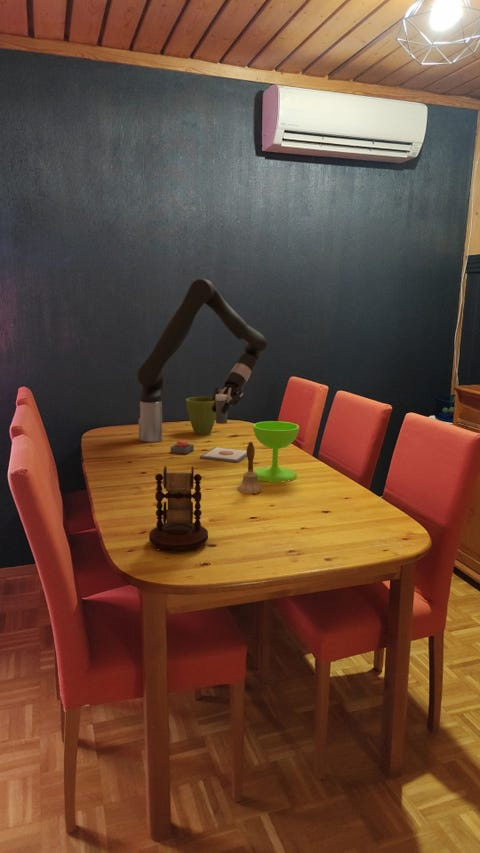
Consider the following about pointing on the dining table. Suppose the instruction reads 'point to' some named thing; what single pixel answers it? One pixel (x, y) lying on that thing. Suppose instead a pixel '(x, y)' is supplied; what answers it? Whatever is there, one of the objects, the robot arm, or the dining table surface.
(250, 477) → the hand bell
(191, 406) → the flower pot
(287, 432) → the wineglass
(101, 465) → the dining table surface
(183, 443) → the button
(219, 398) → the canister
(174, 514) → the scroll
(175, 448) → the button base
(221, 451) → the board
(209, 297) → the robot arm
